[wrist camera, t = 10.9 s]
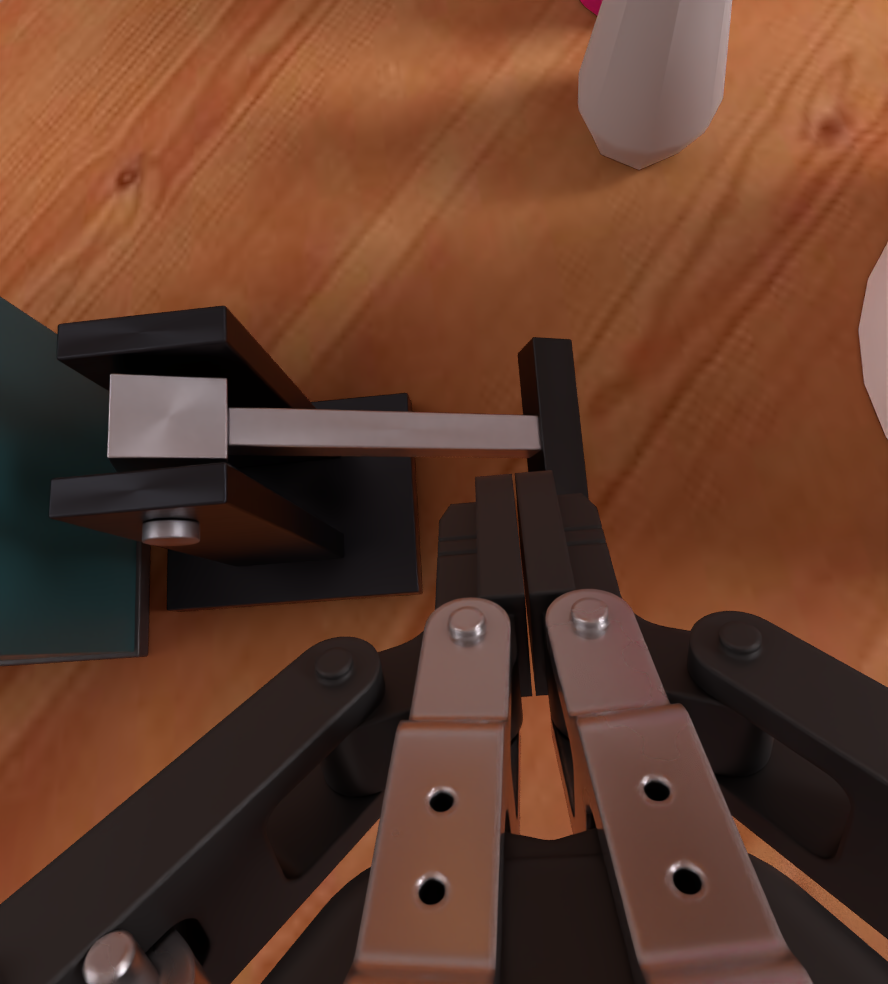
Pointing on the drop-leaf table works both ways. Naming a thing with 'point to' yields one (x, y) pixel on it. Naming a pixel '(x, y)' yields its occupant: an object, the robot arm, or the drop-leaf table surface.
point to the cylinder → (876, 338)
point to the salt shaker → (653, 76)
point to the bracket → (244, 481)
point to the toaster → (51, 543)
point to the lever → (348, 424)
